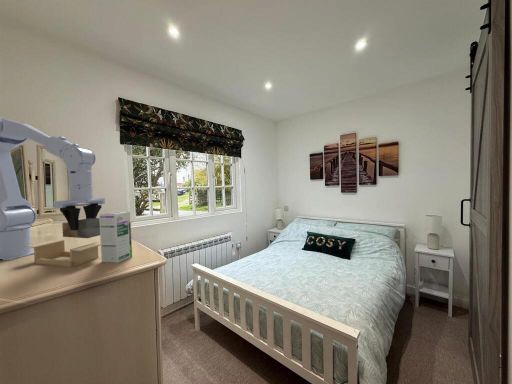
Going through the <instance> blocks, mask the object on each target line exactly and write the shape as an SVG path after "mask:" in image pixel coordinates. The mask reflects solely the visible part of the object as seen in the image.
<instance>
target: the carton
mask: <svg viewBox="0 0 512 384" xmlns="http://www.w3.org/2000/svg"><path fill="white" fill-rule="evenodd" d="M65 245H66V244H65V240H64V239H52V240H47V241H43V242H40V243H34V244H31V245H29V246H26V247H30V248H31V249H32V248H33V251H34V254H33V255H34V264H38V265H40V264H41V265H49V266H58V267H59V266H60V267H69V268H70V267H71V268H73V267H76V266H79V265H82V264H84V263H87V262H90V261H93V260H97V259H99V246H100V247H101V241H95V242H92V243H88V244H85V245H82V246H78V247H74V248H70V249H69V250H65Z"/></svg>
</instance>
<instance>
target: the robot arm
mask: <svg viewBox="0 0 512 384" xmlns="http://www.w3.org/2000/svg"><path fill="white" fill-rule="evenodd" d="M28 140H31V141H32V142H36V143H38V144H40V145H41V146H43V147H44V150H45V151H46V152H48V153H49V154H51V155H53V156H55V157H58V158H59V159H60V160H62V161H63V163H64V164H65V166H66V170H67V171H68V188H69V189H68V190H69V193H68V194H69V199H68V200H58V201H57V200H55V201H53V209H59V211H60V213H61V214H62V216H63V217H65V219H66V222H68V224H69V226H70V229H71V230H78V220H79V217H80V213H81V207H82V208H83V211H84V214H85V219H87V218H98V215H99V213H100V211H101V209H102V205H105V204H106V202H105V198H102V197H101V198H93V175H92V173H93V172H92V166H93V165H95V162H96V158H97V157H96V155H95V153H94V151H92V150H91V149H88V148H81V147H80V145H79V144H77V143H72V142H70V141H68V140H67V137H64V136H61V135H59V136H58V135H53V136H49V135H48V134H46V133H45V132H43V131H41V130H39V129H38V128H36V127H33V125H30V124H27V123H25V122H20V121H17V120H12V119H8V118H3V117H0V259H3V260H2V261H10V260H15V259H19V258H23V257H27V256H30V255H31V256H32V255H34V250H32V248H30V247H26V246H29V245H32V242H31V241H32V239H31V238H32V237H31V228H32V227H33V224H35V222H36V221H37V217H38V215H37V212H36V210H35V209H34V207H33V205H32V202H31V201H29V200H27V199H25V198H24V197H22V194H21V193H22V192H21V190H20V186H19V182H18V178H17V174H16V171H15V167H14V162H13V158H12V155H11V151H12V150H13V149H16V148H18V147H20V146H21V145H22V144H24V143H26V142H27V141H28Z"/></svg>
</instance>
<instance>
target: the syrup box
mask: <svg viewBox="0 0 512 384" xmlns="http://www.w3.org/2000/svg"><path fill="white" fill-rule="evenodd" d="M98 218H99V222H100V235H99V238H100V239H99V240H100V242H101V245H100V251H101V252H100V255H101V257H100V258H101V262H103V263H115V264H118V263H120V262H123V261H125V260H127V259H129V258H132V257H133V246H132V242H133V241H132V224H131V212H130V211H128V210H127V211H126V210H122V211H121V210H119V211H113V212H104V213H99V214H98Z"/></svg>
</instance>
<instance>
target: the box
mask: <svg viewBox="0 0 512 384" xmlns="http://www.w3.org/2000/svg"><path fill="white" fill-rule="evenodd" d="M61 223H62V237H63V238H73V239H75V238H77V239H90V238H93V237H98V236H99V237H100V222H99V217H96V218H87V219H86V218H83V219H78V230H71V229H70V226H69V224H68V221H65V222H64V221H63V222H61Z"/></svg>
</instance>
